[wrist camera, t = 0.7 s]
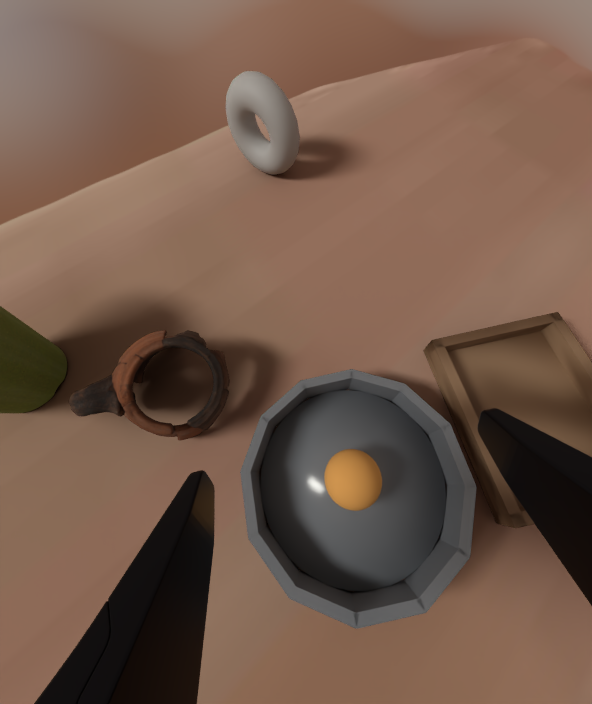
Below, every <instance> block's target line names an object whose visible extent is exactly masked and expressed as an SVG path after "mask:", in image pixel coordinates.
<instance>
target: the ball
mask: <svg viewBox="0 0 592 704" xmlns="http://www.w3.org/2000/svg"><path fill="white" fill-rule="evenodd" d="M324 479H325V486H326V489H327V492H328V494H329V495H330V497H331V498H332V500H333V501H334V502H335V503H337V504H338V505H339V506H341V507H342V508H345V509H348V510H352V511H359V510H364V509H366V508H368V507H370V506H371V505H372V504H374V503H375V501H376V500H377V499H378V497H379V495H380V492H381V489H382V476H381V472H380V469H379V467H378V465H377V463H376V462H375V461H374V460H373V458H372V457H370V456H369V455H368V454H367V453H365V452H363V451H360V450H357V449H346V450H342V451H340V452H338V453H336V454H335V455H334V456H333V457H332V458H331V459H330V460H329V462H328V464H327V466H326V469H325V475H324Z"/></svg>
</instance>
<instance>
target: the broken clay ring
mask: <svg viewBox="0 0 592 704" xmlns="http://www.w3.org/2000/svg"><path fill="white" fill-rule="evenodd" d="M166 333H167V331H166V330H163V331H156V332H153V333H150V334H148V335H145V336H144V337H142V338H140V339H139V340H137V341H136V342H135V343H134V344H132V345H131V346H130V347H129V348H128V349H127V350H126V351H125V352H124V354H123V355H122V356H121V357H120V359H119V361H118V363H117V367H116V368H115V369H114V371H113V373H112V375H110V376H109V377H107V378H105V379H103V380H101V381H99V382H96V383H94V384H91V385H89V386H87V387H85V388H84V389H82V390H79V391H75V392H74V393H72V394H71V397H70V399H69V404H70V406H71V410H72V411H73V412H74V413H75V414H77V415H78V416H87V415H90V414H97V413H102V412H112V413H114V414H116V415H118V416H122V415H125V416H126V417H127V418H128V419H129V420H130V421H131V422H133V423H134V424H136V425H137V426H139V427H140V428H142V429H144V430H146V431H148V432H151V433H154V434H156V435H160V436H166V437H175V436H177V437H178V440H184V439H188V438H191V437H194V436H196V435H198V434H200V433H202V431H204V430H207V429H208V428H209V427H210V426H211V425H212V424H213V422H214V421H215V420H216V418H217V417H218V416H219V414H220V413H221V411H222V409H223V407H224V405H225V403H226V400H227V397H228V394H229V391H228V390H227V387H228V385H229V375H228V370H227V367H226V363H225V357H224V354H223V352H220V351H216V350H209V349H208V348H206V343H205V341H204V339H203V338H201V337H200V336H199V334H198V333H196V332H193V331H185V332H184V333H180V334H177V335H176V336H170V337H165V336H166ZM173 347H179V348H185V349H189V350H191V351H194V352H196V353H197V354H199V355H200V356H202V357H203V358H204V359H205V360H206V361H207V363H208V364H209V366H210V368H211V370H212V374H213V379H214V386H213V392H212V394H211V397H210V399H209V401H208V403H207V405H206V406H205V407H204V409H203V410H202V411H201V412H200V413H198V414H197V415H196V416H194V417H193V418H191V419H190V420H188V422H187V423H186V424H182V425H175V426H173V425H172V424H170V423H162V422H158V421H155V420H153V419H151V418H149V417H148V416H147V415H145V414H144V413H143V412H142V411H141V410H140V409H139V407H138V405H137V404H136V400H135V394H134V393H133V389H132V387H133V382H135V383H142V378H143V373H144V370H145V367H146V365H147V364H148V362H149V361H150V360H151V358H152V357H153V356H154V355H156V354H157V353H158V352H160V351H162V350H165V349H168V348H173Z"/></svg>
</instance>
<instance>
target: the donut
mask: <svg viewBox="0 0 592 704" xmlns="http://www.w3.org/2000/svg"><path fill="white" fill-rule="evenodd" d="M226 114H227V120H228V125H229V128H230V130H231V133H232V136H233V138H234V140H235V142H236V144H237V146H238V148H239V149H240V151H241V152H242V153H243V155H244V156H245V158H246V159H247V160H248V161H249V162H250V163H251V164H252V165H253V166H254V167H256V168H258V169H259V170H261V171H262V172H265V173H268V174H272V175H275V174H280V173H284V172H286V171H287V170H288V169H289V168H290V167H291V166H292V165H293V164H294V162H295V159H296V157H297V154H298V151H299V140H300V135H299V129H298V123H297V119H296V116H295V113H294V111H293V108H292V105H291V104H290V102H289V100H288V98H287V97H286V95H285V93H284V92H283V91H282V89H281V88H279V86H278V85H277V84H276V83H275V82H274V81H273V80H272V79H271V78H269V77H268V76H266V75H264V74H262V73H261V72H254V71H246V72H243V73H241V74H240V75H238V76H237V77H235V78H234V80H233V81H232V83H231V85H230V87H229V89H228V92H227V96H226ZM255 114H256V115H258V117H259V118H260V119H261V120H262V121H263V123H264V124H265V126H266V128H267V130H268V133H269V136H270V141H268V140H267V139H266V138H265V137H264V136H263V134H262V133H261V131H260V129H259V127H258V125H257V122H256V118H255Z"/></svg>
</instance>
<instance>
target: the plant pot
mask: <svg viewBox="0 0 592 704" xmlns="http://www.w3.org/2000/svg"><path fill="white" fill-rule="evenodd" d="M66 371H67V360H66V357H65V355H64V353H63V351H62V350H61V349H60V348H59V347H57V346H56V345H54V344H53V343H52V342H50V341H49V340H47V339H46V338H45V337H43V336H42V335H40V334H39V333H37V332H36V331H35V330H33V329H32V328H30V327H29V326H28V325H26V324H25V323H23V322H22V321H21V320H19V319H18V318H16V317H15V316H14V315H12V314H11V313H9V312H8V311H7V310H5V309H4V308H2V307H1V306H0V413H24V412H29V411H32V410H34V409H36V408H38V407H40V406H42V405H43V404H45V403H46V402H47V401H49V400H50V399H51V398H52V397H53V396H54V394H55V391H56V389H57V387H58V386H59V385H60V384H61V383H62V382H63V380H64V379H65V376H66Z"/></svg>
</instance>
